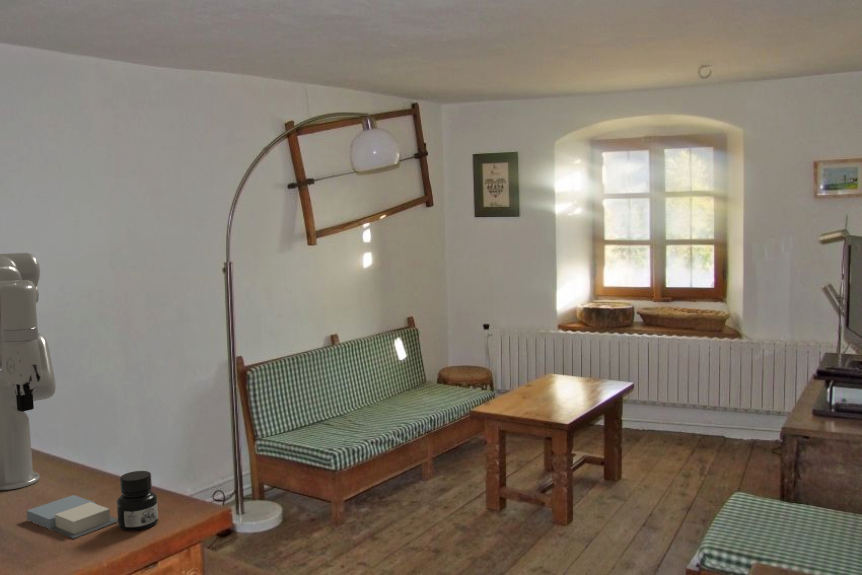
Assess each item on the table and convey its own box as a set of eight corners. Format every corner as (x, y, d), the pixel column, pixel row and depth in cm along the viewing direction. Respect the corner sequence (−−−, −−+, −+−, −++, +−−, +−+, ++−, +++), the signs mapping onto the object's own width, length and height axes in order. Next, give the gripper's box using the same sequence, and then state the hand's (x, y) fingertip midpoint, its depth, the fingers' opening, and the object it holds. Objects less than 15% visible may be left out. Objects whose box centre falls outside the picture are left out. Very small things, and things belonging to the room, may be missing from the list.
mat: (50, 529, 180) (50, 528, 180) (97, 512, 190) (97, 511, 190) (73, 539, 175) (73, 538, 175) (121, 521, 185) (120, 520, 185)
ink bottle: (128, 536, 176) (125, 485, 175) (109, 526, 182) (106, 477, 181) (167, 522, 184) (164, 473, 182) (147, 513, 189) (145, 466, 188)
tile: (55, 526, 182) (54, 514, 181) (91, 513, 189) (90, 502, 189) (74, 534, 177) (73, 521, 177) (110, 520, 184) (109, 508, 184)
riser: (27, 520, 186) (26, 510, 186) (74, 504, 196) (73, 494, 196) (49, 529, 181) (49, 519, 180) (96, 512, 190) (96, 502, 190)
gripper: (-12, 334, 185) (-7, 409, 187) (21, 340, 177) (26, 418, 179) (19, 330, 191) (24, 402, 193) (52, 335, 183) (57, 411, 185)
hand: (25, 409), depth 186 cm, fingers closed
